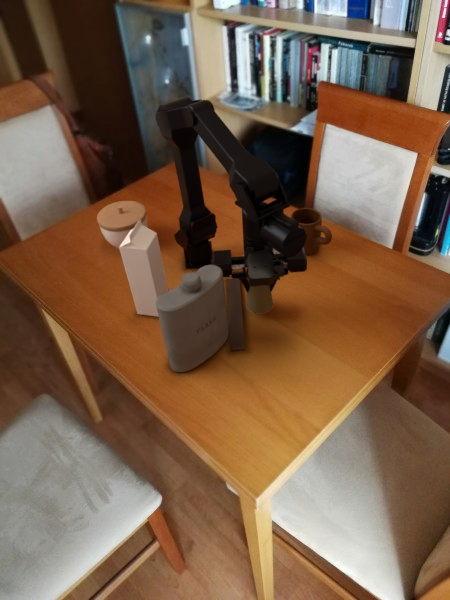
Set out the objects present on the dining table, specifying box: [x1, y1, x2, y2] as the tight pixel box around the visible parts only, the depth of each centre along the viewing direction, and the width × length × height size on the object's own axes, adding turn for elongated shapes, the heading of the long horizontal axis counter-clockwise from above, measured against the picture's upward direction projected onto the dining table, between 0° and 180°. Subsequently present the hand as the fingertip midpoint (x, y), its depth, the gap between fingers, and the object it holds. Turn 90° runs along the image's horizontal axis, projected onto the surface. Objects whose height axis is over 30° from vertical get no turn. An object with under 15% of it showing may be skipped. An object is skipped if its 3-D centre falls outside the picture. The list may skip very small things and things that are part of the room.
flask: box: [155, 264, 230, 373], centre depth 91 cm, size 15×6×20 cm, turn 136°
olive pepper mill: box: [245, 267, 274, 315], centre depth 100 cm, size 6×6×11 cm
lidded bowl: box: [96, 200, 149, 250], centre depth 124 cm, size 13×13×11 cm
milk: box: [118, 219, 170, 318], centre depth 101 cm, size 6×6×22 cm
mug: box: [290, 207, 333, 256], centre depth 116 cm, size 12×8×9 cm, turn 39°
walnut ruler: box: [226, 278, 246, 352], centre depth 105 cm, size 3×22×1 cm, turn 2°
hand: (259, 291), depth 101 cm, fingers closed on olive pepper mill, 4 cm apart
